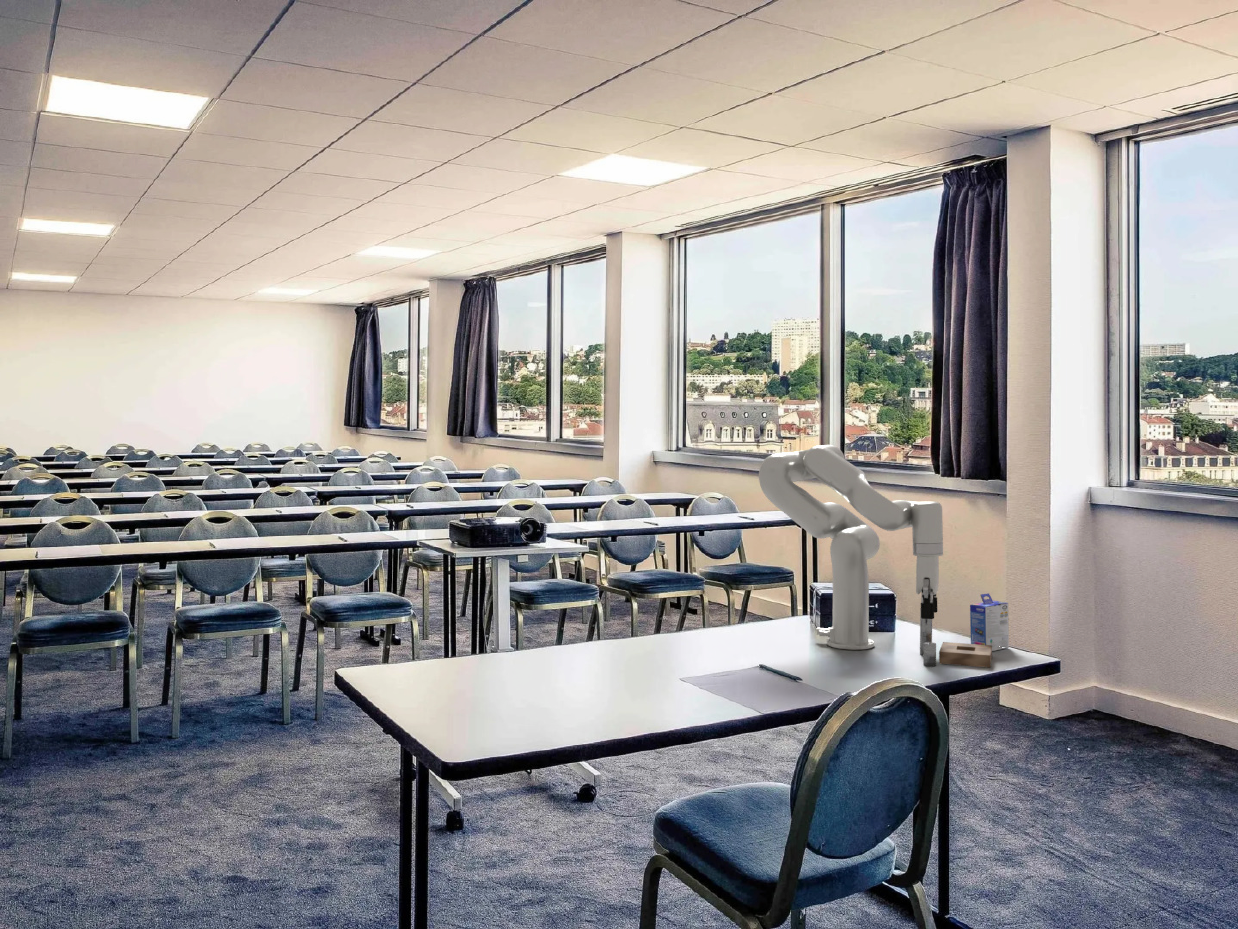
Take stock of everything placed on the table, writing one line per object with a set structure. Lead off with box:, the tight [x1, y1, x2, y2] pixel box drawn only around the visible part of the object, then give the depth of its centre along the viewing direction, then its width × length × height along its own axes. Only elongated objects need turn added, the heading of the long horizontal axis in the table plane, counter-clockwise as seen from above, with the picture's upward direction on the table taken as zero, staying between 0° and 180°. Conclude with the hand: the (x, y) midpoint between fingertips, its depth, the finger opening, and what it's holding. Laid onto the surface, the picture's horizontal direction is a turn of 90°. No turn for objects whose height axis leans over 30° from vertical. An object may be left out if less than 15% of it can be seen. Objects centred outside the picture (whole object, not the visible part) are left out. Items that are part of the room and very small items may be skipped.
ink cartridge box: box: [969, 593, 1010, 652], centre depth 275 cm, size 10×6×14 cm, turn 124°
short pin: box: [922, 641, 937, 668], centre depth 256 cm, size 3×3×6 cm
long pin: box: [919, 607, 933, 656], centre depth 268 cm, size 3×3×12 cm
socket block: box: [938, 641, 993, 668], centre depth 262 cm, size 12×12×3 cm
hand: (929, 615), depth 267 cm, fingers open, 9 cm apart
